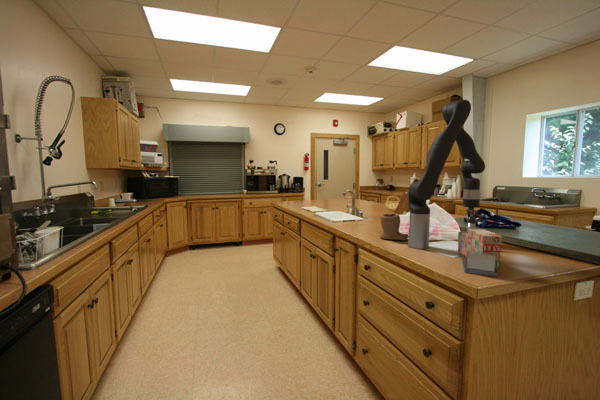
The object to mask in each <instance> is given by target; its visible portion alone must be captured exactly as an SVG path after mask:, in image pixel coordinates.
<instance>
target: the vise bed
mask: <svg viewBox="0 0 600 400" xmlns="http://www.w3.org/2000/svg"><path fill="white" fill-rule="evenodd" d="M459 254H460V258H461V262H462V268H463V272H464V273H465V274H472V275H477V276H478V275H480V276H486V277H493V278H499V272H498V270H497V268H495V254H494V253H485V252H476V251H468V258H467V257H466V256H464V255H463V254H461V253H460V252H459Z"/></svg>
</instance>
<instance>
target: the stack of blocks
mask: <svg viewBox="0 0 600 400" xmlns="http://www.w3.org/2000/svg"><path fill="white" fill-rule="evenodd" d="M457 233H458V237H457V238H458V240H457V241H458V242H457V245H458V246H457V252H459V254H460V253H461V254H463V255H464V256H466V257H467V258H468V251H476V252H485V253H494V254H495V269H500V266H501V264H500V263H501V253H502V252H501V251H502V242H503V241H502V240H503V236H502V235H500V234H497V233H495V232H493V231H492V232H491V231H489V230H486V229H483V228H479V229H477V228H475V229H468V232H467V231H458V232H457ZM461 254H460V255H461Z"/></svg>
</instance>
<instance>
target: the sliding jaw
mask: <svg viewBox="0 0 600 400" xmlns="http://www.w3.org/2000/svg"><path fill="white" fill-rule="evenodd" d="M467 222H468V223H467ZM466 223H467V226H468V227H467V228H466V229H467V230H466V232H468V229H476V224H477V218H476V216H475V217H469V218H468V219H467V218H466Z"/></svg>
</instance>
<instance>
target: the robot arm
mask: <svg viewBox="0 0 600 400" xmlns="http://www.w3.org/2000/svg"><path fill="white" fill-rule="evenodd" d="M471 111H472V104H471V102H470V101H469V100H467V99H460V100H455V101H450V102H447V103H446V104H444V106H443V107H442V110H441V112H442V113H441V114H442V117H443V120H444V122H445V123H446V124H445V125H446V127H445V128H444V130H442V131H441V132H440V133H439V134H438V136H436V137H435V138H434V140H433V141H432V142H431V145H430V146H429V150H428V151H427V154H426V155H427V156H426V168H425V171H424V174H423V176H422V178H421V179H420V180H417V181H414V182H412V183H411V184H410V185H409V187H408V197H407V199H408V202H407V203H408V207H409V208H408V209H409V224H408V225H409V226H408V227H409V228H408V235H409V236H408V238H407V241H408V242H407V244H408V245H407V246H408V248H409V247H410V248H412V249H418V250H424V249H426V250H427V249H429V248H430V247H429V246H430V245H429V244H430V224H431V223H430V221H431V219H430V217H431V208H430V207H429V206H428V204H427V201H428V200H430V199H431V198H432V197H433V195H434V194H435V191H436V188H437V184H438V182H439V180H440V176H441V173H442V172H443V169H444V166H445V164H446V162H447V160H448V158H449V156H450V154H451V152H452V149H453V147H454V144H455V142H456V144H457V148H458V151H459V155H460V157H461V158H462V159H464V161H463V162H462V163H461V165H460V171H461V174H462V179H463V193H462V207H465V208H467V209H466V210H465V213H466V216H465V217H466V220H467V219H468V218H469V217H475V218H476V216H475V215H476V210H475V209H476V208H479V207H480V204H481V203H480V202H481V190H480V189H481V181H480V179H479V178H478V177H477V178H476V177H473V174H477V175H478V174H482V173H483V172H484V171H485V169H486V164H485V161H484V159H483V158H482V156H481V155H480V154H479V152H478V151H477V148H476V144H475V143H474V140H473V138H472V137H471V135H470V134H469V133H468V132H467V131H466V130H465V128H464V125H465V123H466V122H467V120H468V118H469V116H470V115H471ZM466 223H467V224H468V222H467V221H466ZM467 227H468V225H467Z"/></svg>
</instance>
